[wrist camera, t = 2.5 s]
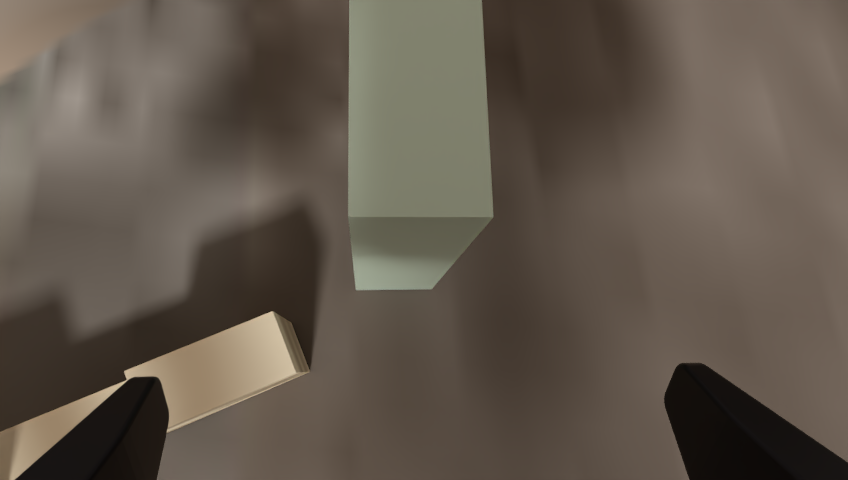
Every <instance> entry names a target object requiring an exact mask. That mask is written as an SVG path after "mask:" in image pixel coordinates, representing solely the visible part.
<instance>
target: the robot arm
mask: <svg viewBox="0 0 848 480" xmlns="http://www.w3.org/2000/svg"><path fill="white" fill-rule="evenodd" d="M664 403H665V408H666V411H667V414H668V417H669V420H670V423H671V426H672V429H673V432H674V435H675V438H676V441H677V444H678V447H679V450H680V453H681V456H682V459H683V462H684V465H685V468H686V471H687V474H688V477H689V479H690V480H848V462H846V461H845V460H843V459H842V458H840V457H839V456H837V455H836V454H835V453H833V452H832V451H830V450H829V449H827V448H826V447H824V446H823V445H821V444H820V443H818V442H817V441H816V440H814V439H813V438H811V437H810V436H808V435H807V434H805V433H804V432H802V431H801V430H800V429H798V428H797V427H795V426H794V425H792V424H791V423H789V422H788V421H786V420H785V419H783V418H782V417H781V416H779V415H778V414H776V413H775V412H773V411H772V410H770V409H769V408H767V407H766V406H764V405H763V404H762V403H760V402H759V401H757V400H756V399H754V398H753V397H751V396H750V395H748V394H747V393H746V392H744V391H743V390H741V389H740V388H738V387H737V386H735V385H734V384H732V383H731V382H729V381H728V380H727V379H725V378H724V377H722V376H721V375H719V374H718V373H716V372H715V371H713V370H712V369H711V368H709V367H708V366H706V365H704V364H702V363H681V364H679V365H678V366H677V367H676V368H675V371H674V373H673V375H672V378H671V380H670V383H669V385H668V387H667V390H666V392H665V397H664ZM168 424H169V409H168V405H167V402H166V398H165V394H164V391H163V387H162V383H161V381H160V379H159V378H158V377H155V376H146V377H132V378H130V379H129V380H127V381H126V382H125V383H124V384H123V385H122V386H120V387H119V388H118V389H117V390H116V391H115V392H114V393H112V394H111V395H110V396H109V397H108V398H107V399H106V400H105V401H103V402H102V403H101V404H100V405H99V406H98V407H97V408H95V409H94V410H93V411H92V412H91V413H90V414H89V415H88V416H86V417H85V418H84V419H83V420H82V421H81V422H80V423H78V424H77V425H76V426H75V427H74V428H73V429H72V430H70V431H69V432H68V433H67V434H66V435H65V436H64V437H63V438H61V439H60V440H59V441H58V442H57V443H56V444H55V445H53V446H52V447H51V448H50V449H49V450H48V451H47V452H46V453H44V454H43V455H42V456H41V457H40V458H39V459H38V460H36V461H35V462H34V463H33V464H32V465H31V466H30V467H28V468H27V469H26V470H25V471H24V472H23V473H22V474H21V475H19V476H18V477H17V478H16V479H15V480H157V475H158V470H159V466H160V461H161V456H162V452H163V447H164V443H165V438H166V433H167V429H168Z"/></svg>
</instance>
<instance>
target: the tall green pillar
mask: <svg viewBox="0 0 848 480" xmlns="http://www.w3.org/2000/svg"><path fill="white" fill-rule="evenodd" d="M492 218H493V198H492V180H491V161H490V143H489V124H488V106H487V87H486V69H485V50H484V32H483V13H482V0H349V152H348V220H349V229H350V239H351V248H352V258H353V267H354V277H355V286H356V290H415V289H432V288H433V287H434V286H435V285H436V284H437V282H438V281H439V280H440V279H441V278H442V277H443V276H444V274H445V273H446V272H447V271H448V270H449V269H450V267H451V266H452V265H453V264H454V263H455V262H456V260H457V259H458V258H459V257H460V256H461V255H462V253H463V252H464V251H465V250H466V249H467V248H468V246H469V245H470V244H471V243H472V242H473V241H474V239H475V238H476V237H477V236H478V235H479V234H480V232H481V231H482V230H483V229H484V228H485V227H486V225H487V224H488V223H489V222H490V221H491V220H492Z"/></svg>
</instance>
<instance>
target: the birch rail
mask: <svg viewBox="0 0 848 480" xmlns="http://www.w3.org/2000/svg"><path fill="white" fill-rule="evenodd" d="M308 372H310V370H309V367H308V365H307V362H306V360H305V357H304V354H303V352H302V349H301V347H300V344H299V341H298V339H297V336H296V334H295V331H294V328H293V326H292V323H291V322H290V321H288V320H286V319H285V318H283V317H282V316H280V315H278V314H277V313H275V312H273V311H271V312H269V313H266V314H264V315H261V316H259V317H257V318H254V319H252V320H249V321H247V322H244V323H242V324H239V325H237V326H234V327H232V328H229V329H227V330H224V331H222V332H219V333H217V334H215V335H212V336H210V337H207V338H205V339H202V340H200V341H197V342H195V343H192V344H190V345H187V346H185V347H182V348H180V349H177V350H175V351H173V352H170V353H168V354H165V355H163V356H160V357H158V358H155V359H153V360H150V361H148V362H145V363H143V364H140V365H138V366H135V367H133V368H131V369H128V370H126V371H124V373H125V376H126V379H127V380H129V379H130V378H132V377H146V376H155V377H158V378H159V379H160V381H161V383H162V387H163V391H164V394H165V398H166V402H167V405H168V409H169V424H168V429H167V433H169V432H171V431H174V430H176V429H178V428H181V427H183V426H185V425H188V424H190V423H192V422H195V421H197V420H199V419H202V418H204V417H206V416H208V415H211V414H213V413H215V412H218V411H220V410H222V409H225V408H227V407H229V406H232V405H234V404H236V403H239V402H241V401H243V400H246V399H248V398H250V397H253V396H255V395H257V394H260V393H262V392H264V391H266V390H269V389H271V388H273V387H276V386H278V385H280V384H283V383H285V382H287V381H290V380H292V379H294V378H297V377H299V376H301V375H304V374H306V373H308ZM127 380H126V381H127ZM126 381H123V382H121V383H119V384H116V385H114V386H111V387H109V388H106V389H104V390H101V391H99V392H96V393H94V394H92V395H89V396H87V397H84V398H82V399H79V400H77V401H74V402H72V403H70V404H67V405H65V406H62V407H60V408H57V409H55V410H52V411H50V412H47V413H45V414H43V415H40V416H38V417H35V418H33V419H30V420H28V421H25V422H23V423H21V424H18V425H16V426H13V427H11V428H8V429H6V430H3V431H1V432H0V480H15V479H16V478H17V477H18V476H19V475H21V474H22V473H23V472H24V471H25V470H26V469H27V468H28V467H30V466H31V465H32V464H33V463H34V462H35V461H36V460H38V459H39V458H40V457H41V456H42V455H43V454H44V453H46V452H47V451H48V450H49V449H50V448H51V447H52V446H53V445H55V444H56V443H57V442H58V441H59V440H60V439H61V438H63V437H64V436H65V435H66V434H67V433H68V432H69V431H70V430H72V429H73V428H74V427H75V426H76V425H77V424H78V423H80V422H81V421H82V420H83V419H84V418H85V417H86V416H88V415H89V414H90V413H91V412H92V411H93V410H94V409H95V408H97V407H98V406H99V405H100V404H101V403H102V402H103V401H105V400H106V399H107V398H108V397H109V396H110V395H111V394H112V393H114V392H115V391H116V390H117V389H118V388H119V387H120V386H122V385H123V384H124V383H125V382H126ZM167 433H166V434H167Z"/></svg>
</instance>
